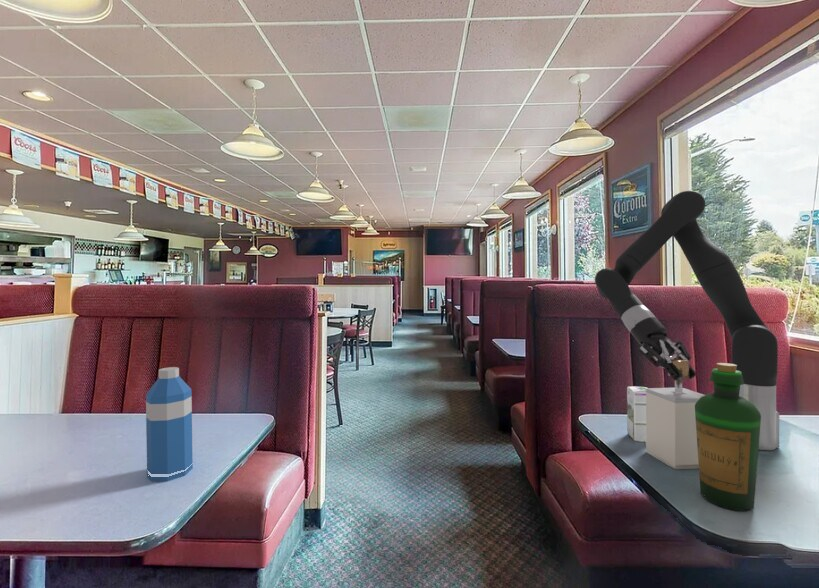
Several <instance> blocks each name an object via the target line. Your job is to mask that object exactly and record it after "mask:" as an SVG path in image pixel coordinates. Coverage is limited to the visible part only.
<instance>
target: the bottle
mask: <svg viewBox="0 0 819 588" xmlns="http://www.w3.org/2000/svg"><path fill="white" fill-rule="evenodd" d="M716 367H717V368H712V370H711V375H710V379H709V381H710V382H712V383H713V390H714V391H713V392H710V393H707V394H704V395H705V396H702V397H701V398H700V399H699V400H698V401H697V402H696V404H695V418H696V433H697V448H698V463H699V468H698V472H699V473H698V475H699V476H698V477H699V489H700V495H702V497H703V498H705V499H706V500H707V501H709V502H711V503H713V504H715V505H717V506H719V507H722V508H726V509H728V510H734V511H749V510H751V509H754V507H755V495H756V484H757V472H758V459H759V458H758V457H759V450H758V448H759V436H760V423H761V414H760V412H759V410H758V409H757V408H756V406H755V405H754V404H753V403H751V402H750V401H748V400H747V399H745V398H743V397H741V396H739V392H740V385H743V384H744V382H743V378H742V374H741V372H740V371H737V370H736V367H737V365H735V364H732V363H730V362H729V363H728V362H717V363H716Z"/></svg>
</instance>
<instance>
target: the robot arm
mask: <svg viewBox="0 0 819 588" xmlns="http://www.w3.org/2000/svg"><path fill="white" fill-rule="evenodd" d="M705 207H706V200H705V197H704V196H703V195H702V194H701V193H700V192H698V191H695V190H690V189H689V190H683V191H680V192H678V193H676V194H675V195H674V196H673V197H671V198H670V199H669V200H668V201H667V202H666V203H665V204H664V205H663V207H662V208H661V213H660V216H659V218H658V219H657V220H656V221H654V223H653V224H652V225H651V226H650V227H649V228H648V229H647V230H646V231H645V232H643V233H642V234H641V235H640V236H639V237H637V238H636V240H635V241H633V242H632V243H631V244H630V245H629V246H628V247H627V248H626V249H625V250H624V251H623V252H621V254H620V255H619V256H618V257H617V259H615V260H616V261H615V266H614V268H609V267H608V268H607V267H606V268H603V269H600V270H599V271H598V272H597V273H596V274H595V277H594V283H595V285H596V288H597V291H598V293H599V295H600V296H601V297H602V298H604V299H607V300H608V301H609V302H610V305H611V307H612V309H613V310H614V312H615V313H616V314H617V316H618V317H619V319H621V321H622V322H623V325H624V326H625V328H626V329H627V330H628V332H629V333H630V334H631V335H632V336H633V337H634V339H635V341H636V342H637V343H638V344H639V345H640V347H639V349H638V352H640V354H642V355H643V356H644V357H645V358H646V359H647V360H648V361H649V362H650V363H651V364H652V365H654V366H655V367H657V368H658V367H661V368H662V369H665V371H666V372H667V374H668V373H669V374H670V376H669V377H670V378H672V379H673V380H674V381H675V380H679V379H680V378H682V377H683V375H682V374H681V372H680V371H679V370H678V369H677V367H676V366H675V365H674V364H671V363H672V362H671V360H670V359H681V360H687V361H689V362H690V361H691V359H692V357H691V355H690V353H689V352H688V350H687V348H686V347H685V345H684V343H683V342H682V341H681V340H678V341H677V342H674V341H673V340H672V339H670V338H669V337H668V336H667V333H668V331H667V328H666V327H665V326H664V325H663V324H662V322H661V321H660V320H659V319H658V318H657V317H656V316H655V314H654V313H653V312H652V311H651V310H650V309H649V308H648V307H646V306H645V304H643V302H642V301H641V300H640V299H639V298H638V297H637V295H636V294H634V292H633V291H632V290H631V288H630V283H632V281H633V279H634V278H635V276H636V275H637V274H638V273H639V271H641V269H643V268H644V267H645V266H646V265H647V264H648V262H649V261H650V260H651V259H652V258H654V256H656V254H657V253H658V252H659V251H660V250H661V249H662V247H664V246H665V244H666V243H667V242H668V241H669V240H670V239H671V238H674V239H675V241H676V242H677V244H678V245H679V247H680V248H681V251H682V252H683V254H684V256H685V258H686V260H687V262H688V264H689V265H690V268H691V269H692V272H693V273H694V275H695V277H696V280H697V281H698V283H699V285H700V286H701V288H702V290H703V291H704V293H705V295H706V296H707V297H708V299H710V301H711V302H712V304H713V305H714V307H716V308H717V310H718V311H719V312H720V314H721V316H722V318H723V321H724V323H725V325H726V327H727V329H728V331H729V334H730V337H731V364H735V365H737V367H736V370H737V371H740V372H741V374H742V378H743V382H744V384H743V385H740V392H739V396H741V397H743V398H745V399H747V400H748V401H750V402H751V403H753V404H754V405H755V406H756V408H757V409H758V410H759V412H760V414H761V423H760V436H759V448H758V451H775V450H776V449H777V448H780V413H779V412H778V411H777V380H778V378H777V377H778V359H779V357H778V356H779V355H778V354H779V353H778V352H779V347H778V345H779V344H778V343H779V342H778V339H777V337H776V335H775V334H774V333H773V332H772V331H771V329H769V327H767V325H766V324H765V322H764V321H763V320H762V318H761V317H760V316H759V314H758V312H756V310H755V309H754V306H753V304H751V300H750V298H749V295H748V293H747V290H746V286H745V284H744V283H743V279H742V277H741V275H740V273H739V272H738V269H737V268H736V265H734V262H733V261H732V259H731V258H730V256H729V255H728V254H727V253H726V252H725V251H724V250H723V249H721V247H719V246H718V245H716V244H715V243H713V242H712V240H710V239H709V238H708V237H706V235H705V234H704V232H703V231H702V229H701V227H700V225H699V223H698V221H697V219H698V218H700V216H701V215H702V214H703V212H704V210H705ZM672 354H673V355H672ZM697 375H698V374H697V371H696V370H695V369H694V368H693V367H692V366H691V364H689V378H688V379H689V380H691V379H693V378H695V377H696V376H697ZM682 379H683V378H682Z"/></svg>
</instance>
